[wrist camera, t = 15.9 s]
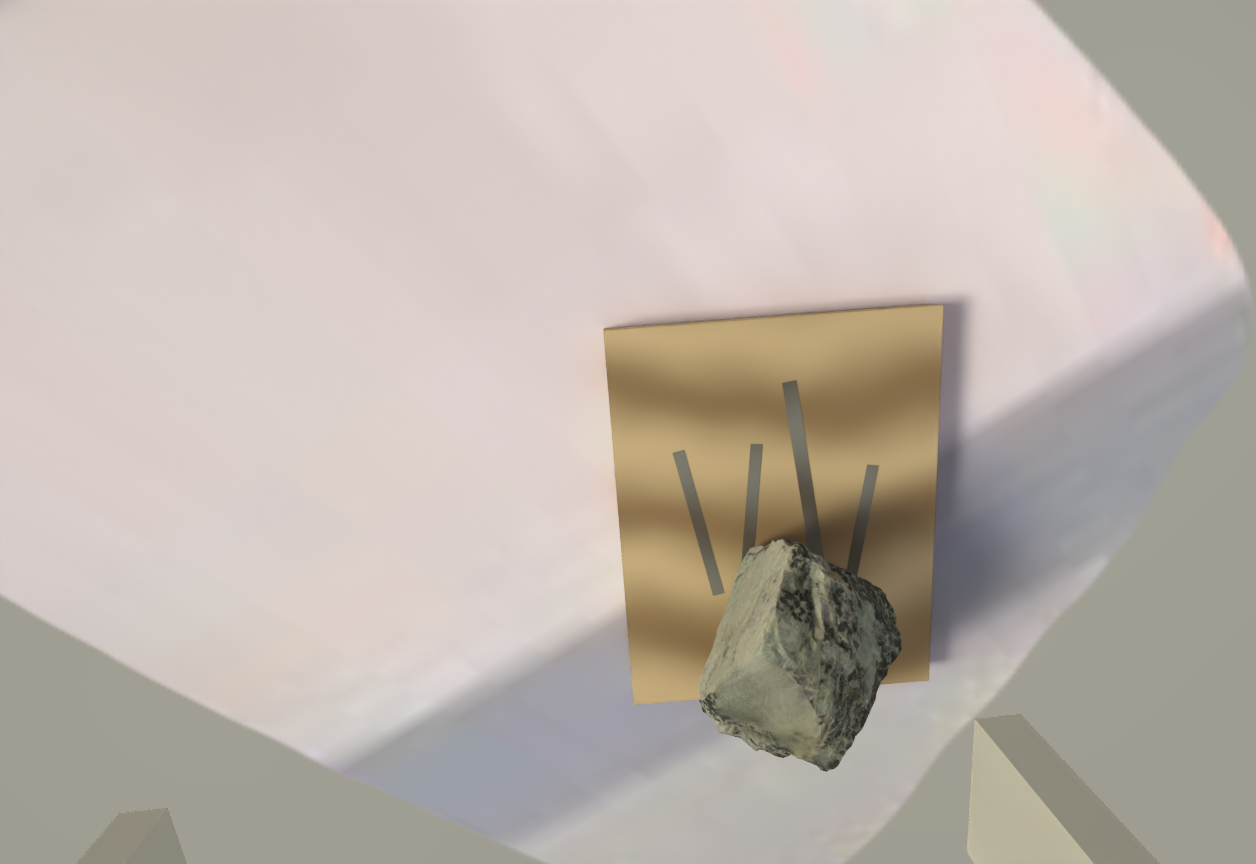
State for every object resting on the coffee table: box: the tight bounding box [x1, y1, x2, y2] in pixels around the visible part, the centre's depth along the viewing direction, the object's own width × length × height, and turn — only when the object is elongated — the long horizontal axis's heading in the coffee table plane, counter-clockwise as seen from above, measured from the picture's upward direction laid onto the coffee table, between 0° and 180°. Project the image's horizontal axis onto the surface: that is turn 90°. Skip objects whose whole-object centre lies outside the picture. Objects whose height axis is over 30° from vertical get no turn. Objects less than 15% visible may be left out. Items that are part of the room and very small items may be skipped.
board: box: [604, 304, 943, 705], centre depth 33 cm, size 20×16×2 cm
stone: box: [698, 539, 902, 772], centre depth 30 cm, size 10×10×10 cm
